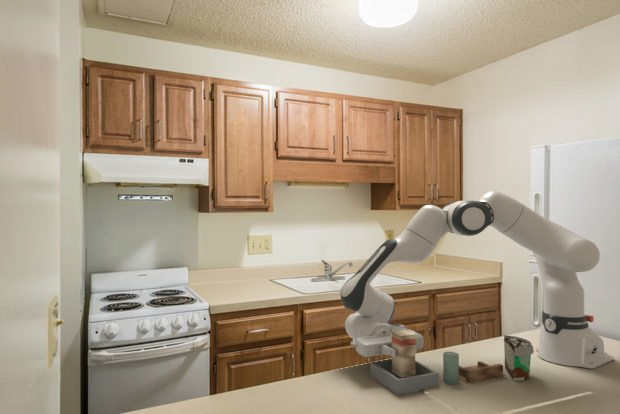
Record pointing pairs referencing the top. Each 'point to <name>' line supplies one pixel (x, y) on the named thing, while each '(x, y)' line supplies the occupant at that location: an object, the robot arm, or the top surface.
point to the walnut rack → (480, 372)
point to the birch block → (404, 353)
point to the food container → (517, 357)
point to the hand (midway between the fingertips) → (405, 352)
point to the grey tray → (405, 384)
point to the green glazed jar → (451, 368)
